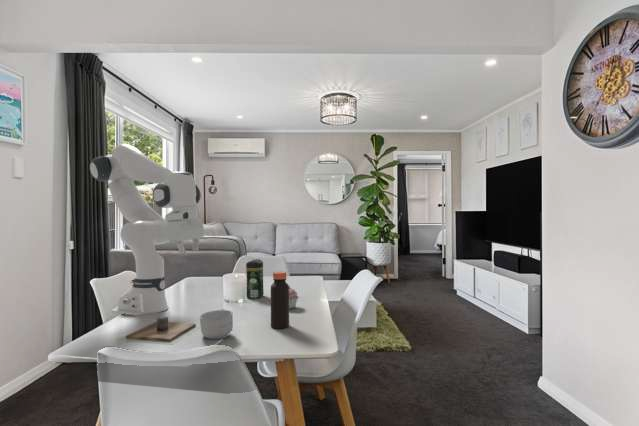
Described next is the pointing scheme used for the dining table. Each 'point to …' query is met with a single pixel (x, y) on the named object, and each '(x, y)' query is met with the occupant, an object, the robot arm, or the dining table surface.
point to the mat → (161, 341)
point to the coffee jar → (254, 279)
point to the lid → (161, 331)
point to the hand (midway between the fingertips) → (189, 251)
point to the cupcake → (292, 298)
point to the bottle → (279, 301)
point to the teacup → (216, 324)
